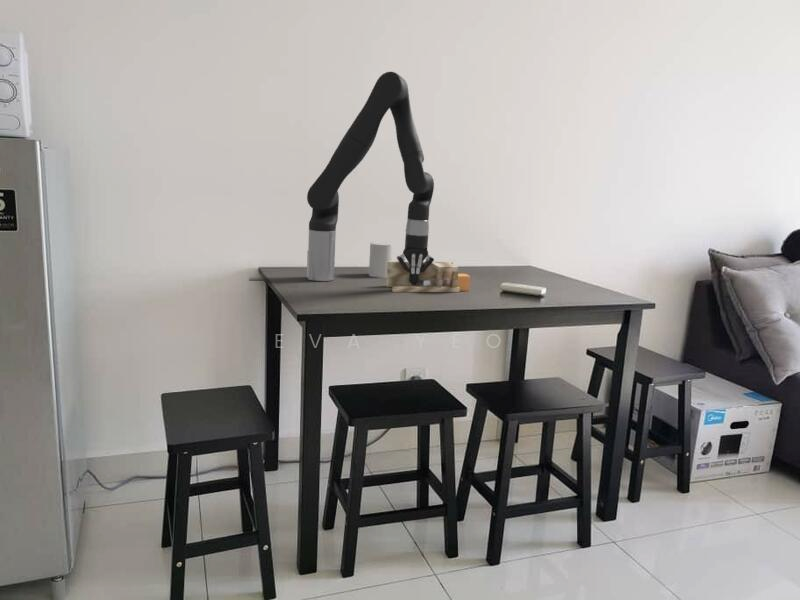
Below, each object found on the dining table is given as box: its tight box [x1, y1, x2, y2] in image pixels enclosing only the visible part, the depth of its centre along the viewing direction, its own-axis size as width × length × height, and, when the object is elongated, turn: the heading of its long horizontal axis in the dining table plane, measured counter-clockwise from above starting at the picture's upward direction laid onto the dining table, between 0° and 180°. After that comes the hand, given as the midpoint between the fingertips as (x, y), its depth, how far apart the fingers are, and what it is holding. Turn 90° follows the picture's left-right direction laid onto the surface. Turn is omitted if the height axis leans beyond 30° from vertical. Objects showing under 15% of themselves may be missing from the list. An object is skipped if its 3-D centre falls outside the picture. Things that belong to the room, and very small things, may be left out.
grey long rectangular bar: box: [419, 278, 452, 287], centre depth 213 cm, size 12×3×4 cm, turn 118°
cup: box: [368, 241, 393, 279], centre depth 232 cm, size 8×8×12 cm
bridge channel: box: [385, 260, 461, 293], centre depth 212 cm, size 23×10×8 cm, turn 105°
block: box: [457, 273, 472, 292], centre depth 216 cm, size 5×5×5 cm
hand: (413, 284), depth 212 cm, fingers closed
